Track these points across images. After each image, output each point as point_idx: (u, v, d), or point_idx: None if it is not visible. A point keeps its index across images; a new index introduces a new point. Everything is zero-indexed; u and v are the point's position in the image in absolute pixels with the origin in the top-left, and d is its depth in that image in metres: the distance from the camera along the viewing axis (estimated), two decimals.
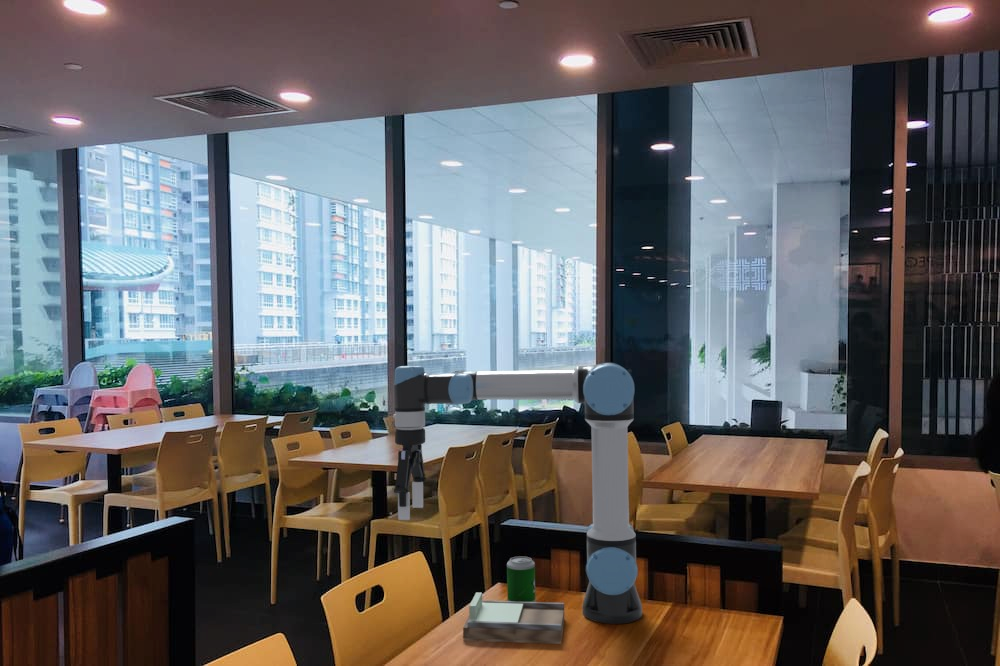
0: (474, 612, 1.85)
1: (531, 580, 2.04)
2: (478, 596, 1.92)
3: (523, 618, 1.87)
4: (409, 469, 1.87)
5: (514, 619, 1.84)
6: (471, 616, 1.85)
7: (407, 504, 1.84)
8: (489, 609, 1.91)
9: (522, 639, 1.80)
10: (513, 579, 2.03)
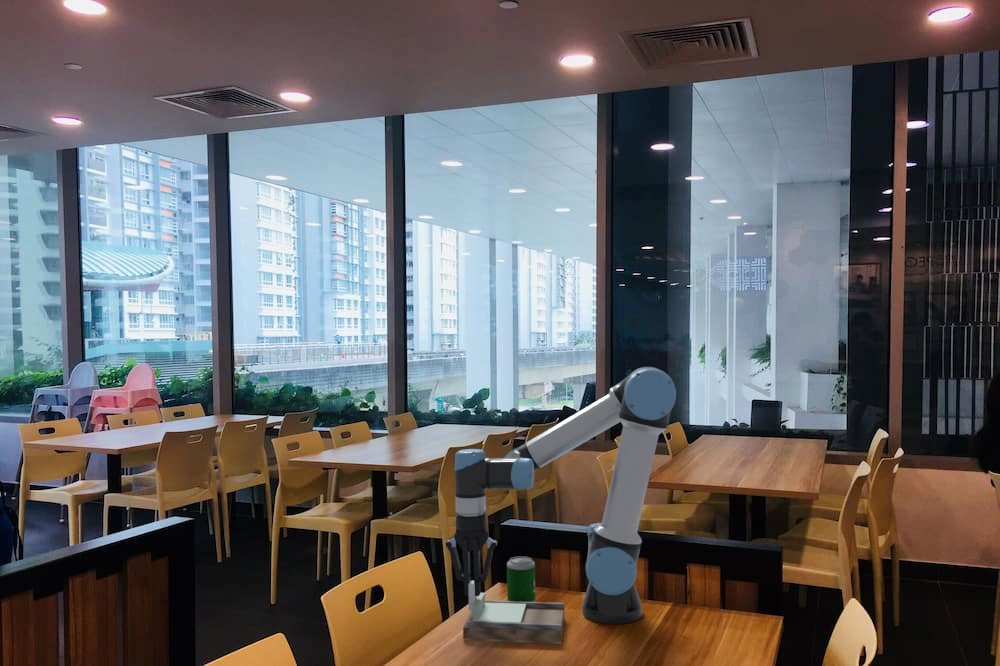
0: (477, 612, 1.84)
1: (532, 580, 2.04)
2: (481, 596, 1.91)
3: (523, 618, 1.87)
4: None
5: (517, 619, 1.83)
6: (474, 616, 1.85)
7: None
8: (492, 609, 1.91)
9: (522, 639, 1.80)
10: (513, 579, 2.03)
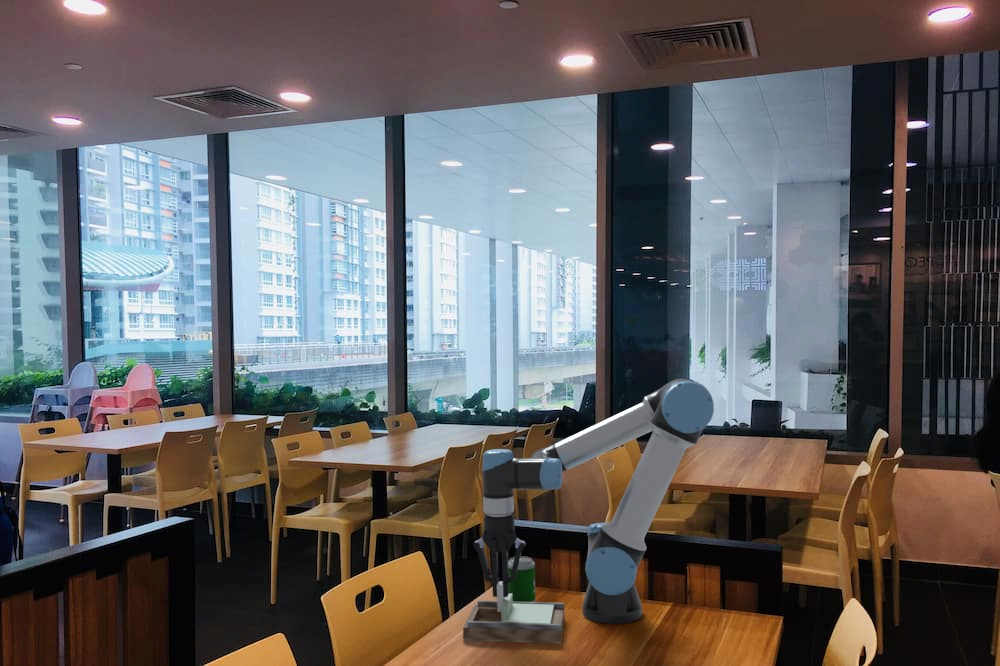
0: (506, 613, 1.83)
1: (532, 580, 2.04)
2: (509, 597, 1.90)
3: None
4: None
5: (546, 620, 1.83)
6: (503, 617, 1.84)
7: None
8: (520, 610, 1.90)
9: (522, 639, 1.80)
10: None
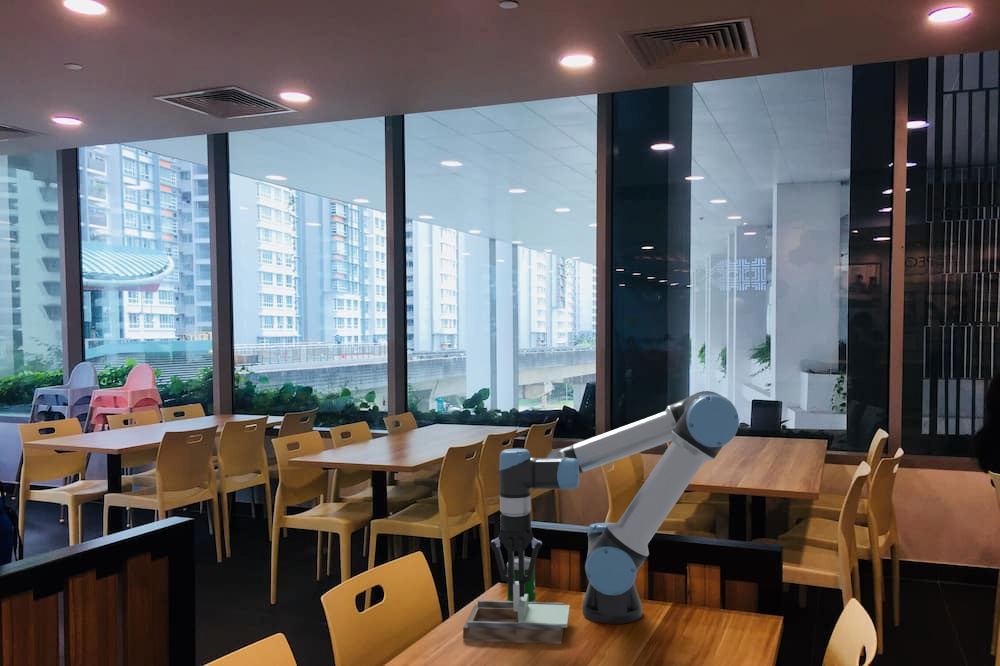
0: (523, 614, 1.83)
1: (532, 580, 2.04)
2: (525, 597, 1.90)
3: None
4: (508, 558, 1.88)
5: (563, 621, 1.82)
6: (520, 618, 1.83)
7: None
8: (536, 611, 1.89)
9: (522, 639, 1.80)
10: None
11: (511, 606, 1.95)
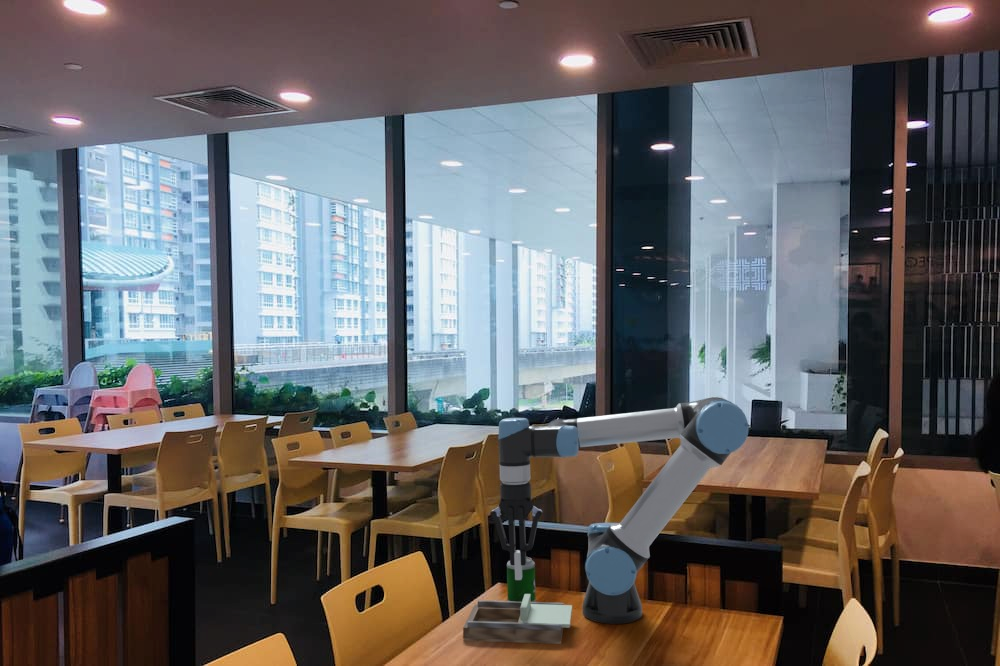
0: (525, 614, 1.83)
1: (532, 580, 2.04)
2: (527, 597, 1.90)
3: None
4: None
5: (566, 621, 1.82)
6: (522, 618, 1.83)
7: None
8: (539, 611, 1.89)
9: (522, 639, 1.80)
10: (513, 579, 2.03)
11: (511, 606, 1.95)
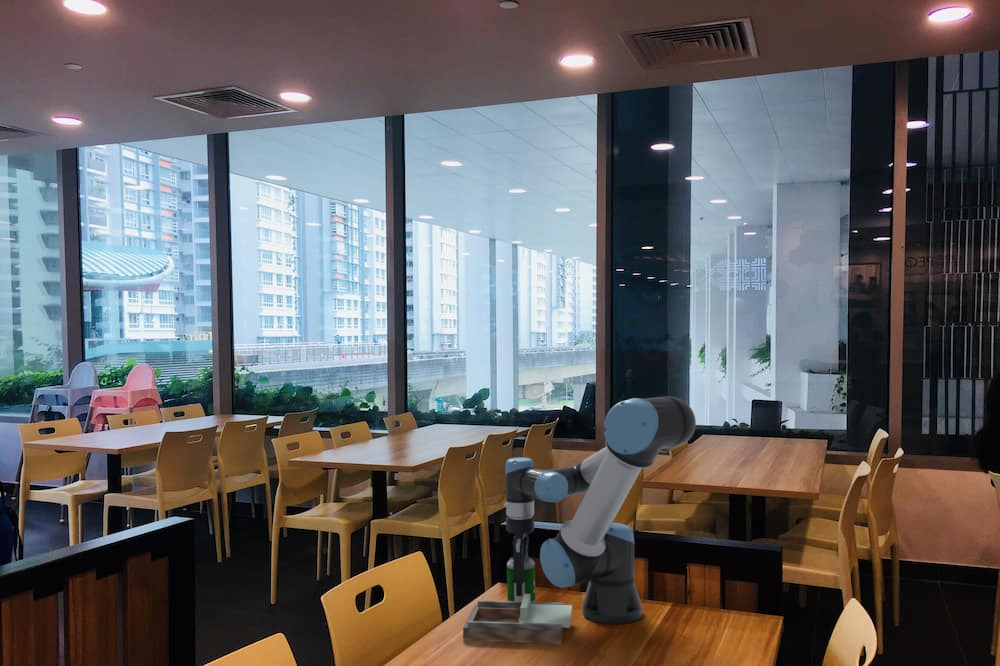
0: (525, 614, 1.83)
1: (531, 580, 2.04)
2: (527, 597, 1.90)
3: None
4: (522, 559, 2.03)
5: (566, 621, 1.82)
6: (522, 618, 1.83)
7: (523, 593, 2.02)
8: (539, 611, 1.89)
9: (522, 639, 1.80)
10: None
11: (511, 606, 1.95)
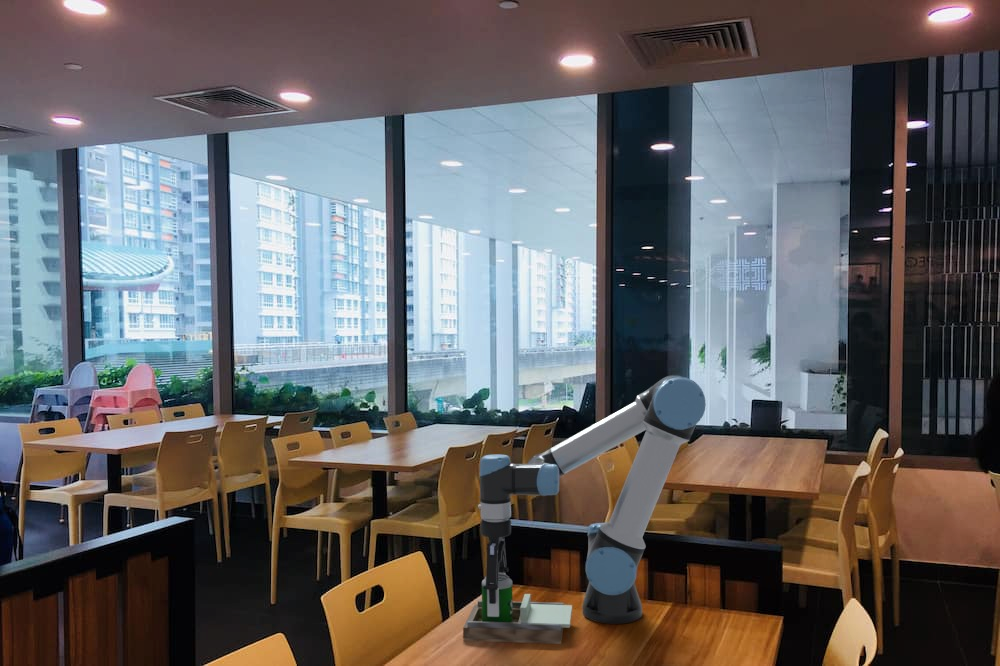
0: (525, 614, 1.83)
1: (508, 600, 1.86)
2: (527, 597, 1.90)
3: None
4: (497, 563, 1.84)
5: (566, 621, 1.82)
6: (522, 618, 1.83)
7: (497, 601, 1.82)
8: (539, 611, 1.89)
9: (522, 639, 1.80)
10: None
11: None
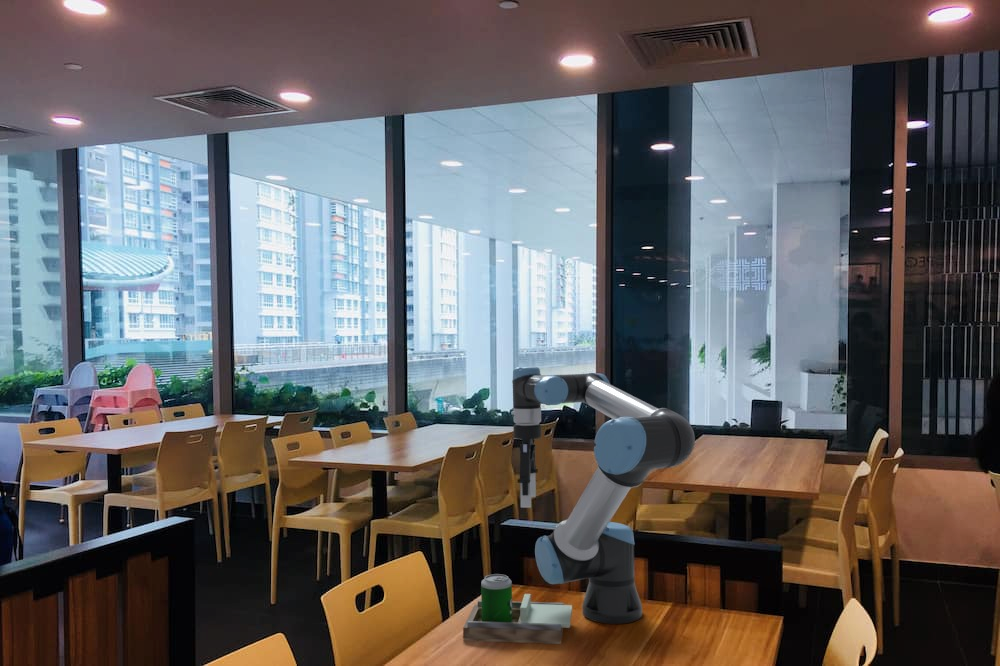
0: (525, 614, 1.83)
1: (508, 600, 1.86)
2: (527, 597, 1.90)
3: None
4: (529, 461, 2.04)
5: (566, 621, 1.82)
6: (522, 618, 1.83)
7: (529, 493, 2.02)
8: (539, 611, 1.89)
9: (522, 639, 1.80)
10: (488, 599, 1.86)
11: None
